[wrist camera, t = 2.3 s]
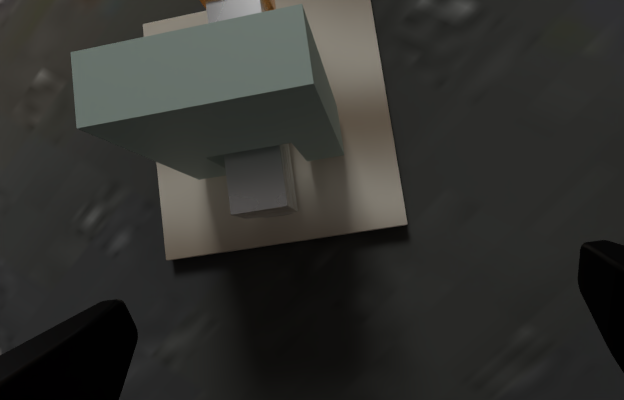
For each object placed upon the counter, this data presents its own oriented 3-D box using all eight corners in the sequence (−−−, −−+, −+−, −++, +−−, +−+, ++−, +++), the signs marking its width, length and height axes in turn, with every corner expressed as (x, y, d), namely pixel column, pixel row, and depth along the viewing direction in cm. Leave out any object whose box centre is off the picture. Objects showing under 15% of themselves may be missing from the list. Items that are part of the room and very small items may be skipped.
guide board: (407, 225, 21) (407, 224, 20) (172, 260, 22) (166, 260, 21) (366, -17, 22) (366, -24, 21) (149, 30, 23) (142, 24, 23)
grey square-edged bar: (308, 213, 21) (292, 204, 17) (251, 222, 21) (223, 215, 17) (276, -16, 22) (255, -69, 18) (223, -4, 22) (192, -54, 19)
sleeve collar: (344, 155, 20) (313, 83, 12) (199, 179, 21) (76, 128, 13) (334, 89, 20) (298, -24, 12) (192, 116, 21) (68, 26, 13)
